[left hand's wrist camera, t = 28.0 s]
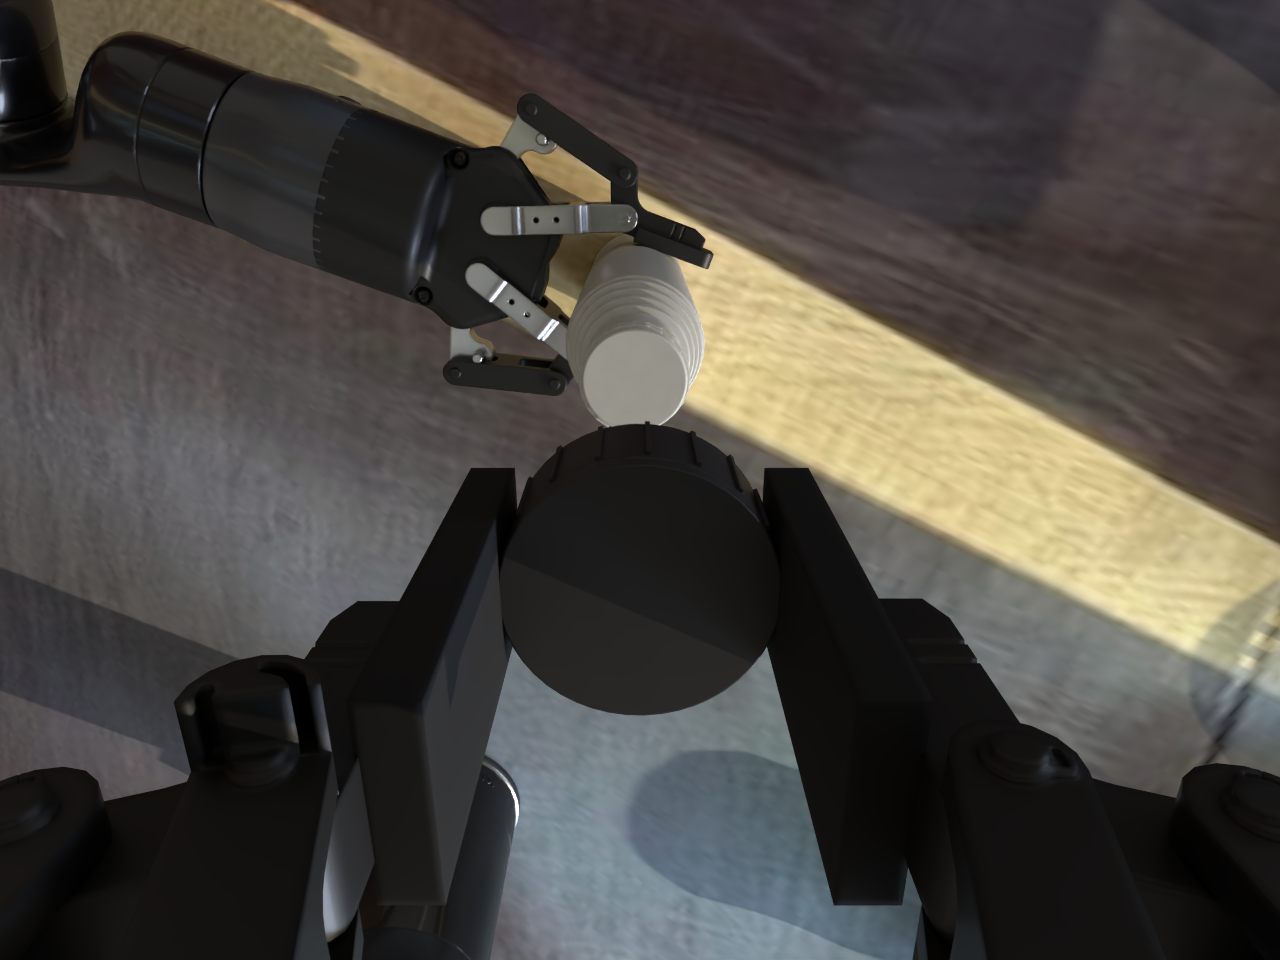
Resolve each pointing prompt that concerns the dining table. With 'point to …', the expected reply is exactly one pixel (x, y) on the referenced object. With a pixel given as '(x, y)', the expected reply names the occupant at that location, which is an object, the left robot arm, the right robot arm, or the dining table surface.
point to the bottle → (634, 336)
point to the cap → (639, 571)
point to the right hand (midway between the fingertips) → (686, 315)
